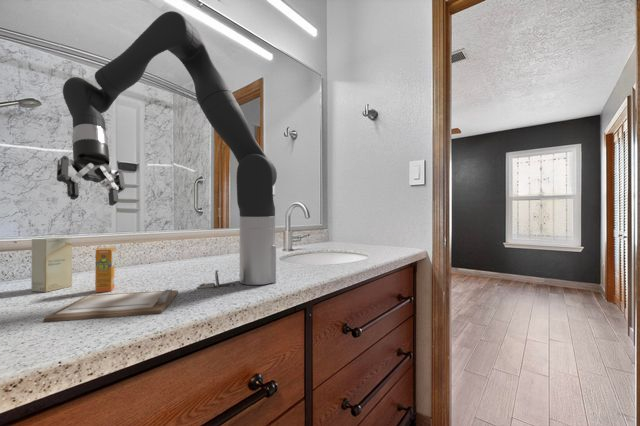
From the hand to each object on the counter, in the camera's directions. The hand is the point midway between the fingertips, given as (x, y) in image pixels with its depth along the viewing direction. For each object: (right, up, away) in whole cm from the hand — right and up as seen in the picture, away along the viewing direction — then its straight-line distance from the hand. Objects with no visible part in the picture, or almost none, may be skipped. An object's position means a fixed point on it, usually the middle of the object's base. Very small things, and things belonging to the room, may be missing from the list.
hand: (94, 201), depth 74 cm
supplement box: (+6, -21, -4) cm, 22 cm away
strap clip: (+30, -22, 0) cm, 37 cm away
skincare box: (-8, -21, -3) cm, 23 cm away
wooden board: (+17, -21, -15) cm, 31 cm away
